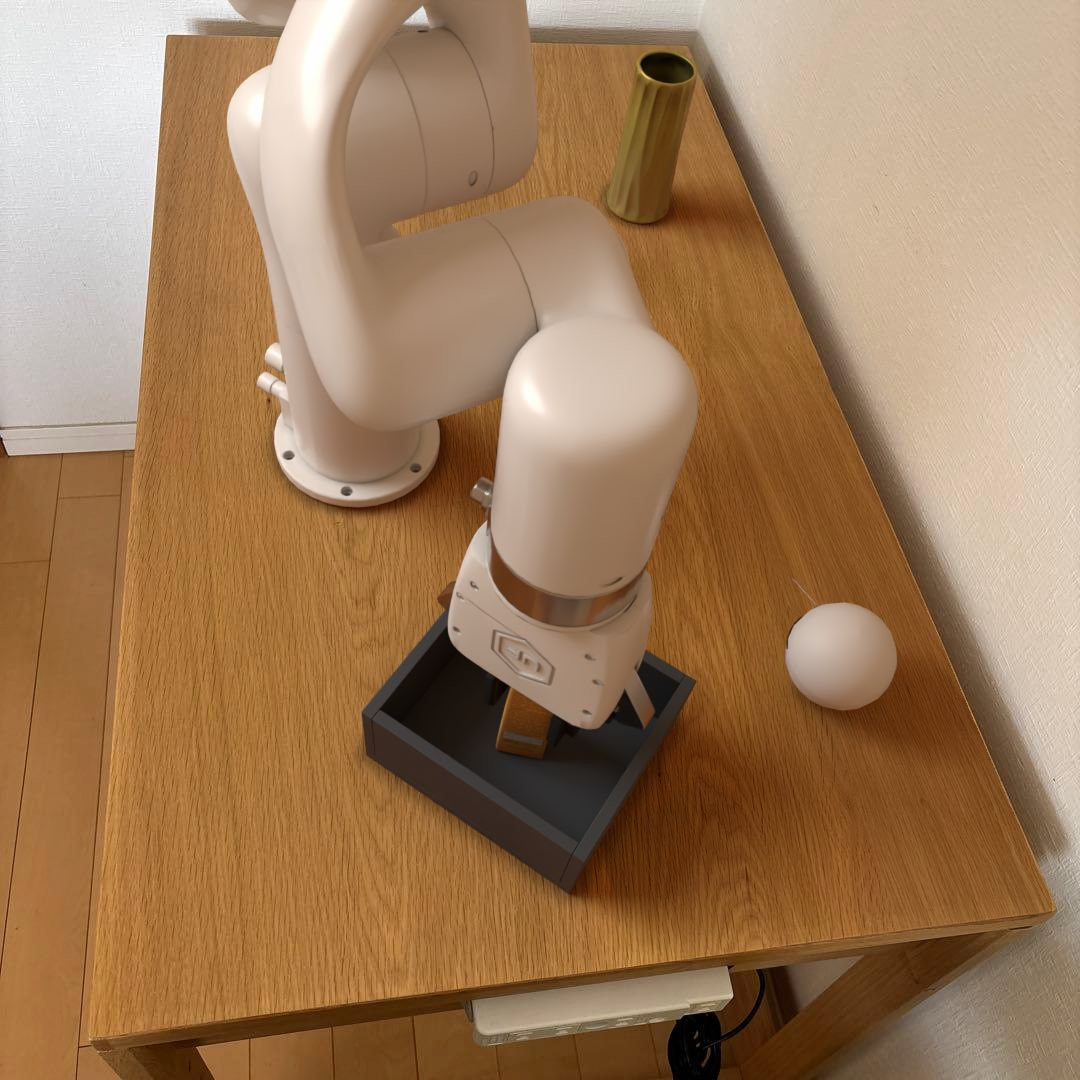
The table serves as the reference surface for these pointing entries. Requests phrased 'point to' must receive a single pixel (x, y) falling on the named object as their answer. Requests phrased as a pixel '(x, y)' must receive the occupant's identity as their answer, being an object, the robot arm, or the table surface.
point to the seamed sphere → (841, 655)
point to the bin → (513, 757)
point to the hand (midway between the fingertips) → (532, 705)
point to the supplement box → (523, 726)
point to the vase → (652, 136)
